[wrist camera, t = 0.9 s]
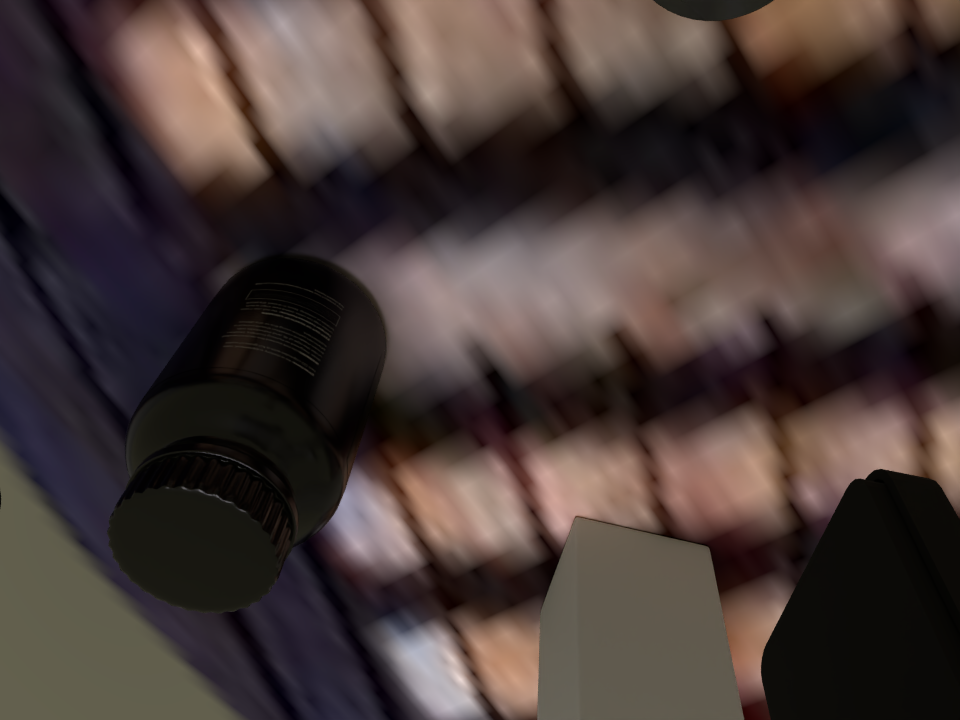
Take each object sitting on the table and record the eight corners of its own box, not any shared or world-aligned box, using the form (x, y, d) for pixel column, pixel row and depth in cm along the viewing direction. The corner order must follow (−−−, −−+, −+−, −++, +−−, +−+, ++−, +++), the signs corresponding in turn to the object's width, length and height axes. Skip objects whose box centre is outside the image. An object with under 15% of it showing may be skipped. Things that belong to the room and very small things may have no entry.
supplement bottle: (178, 318, 34) (13, 528, 24) (300, 216, 32) (175, 403, 21) (303, 435, 37) (203, 671, 27) (427, 349, 34) (368, 574, 24)
